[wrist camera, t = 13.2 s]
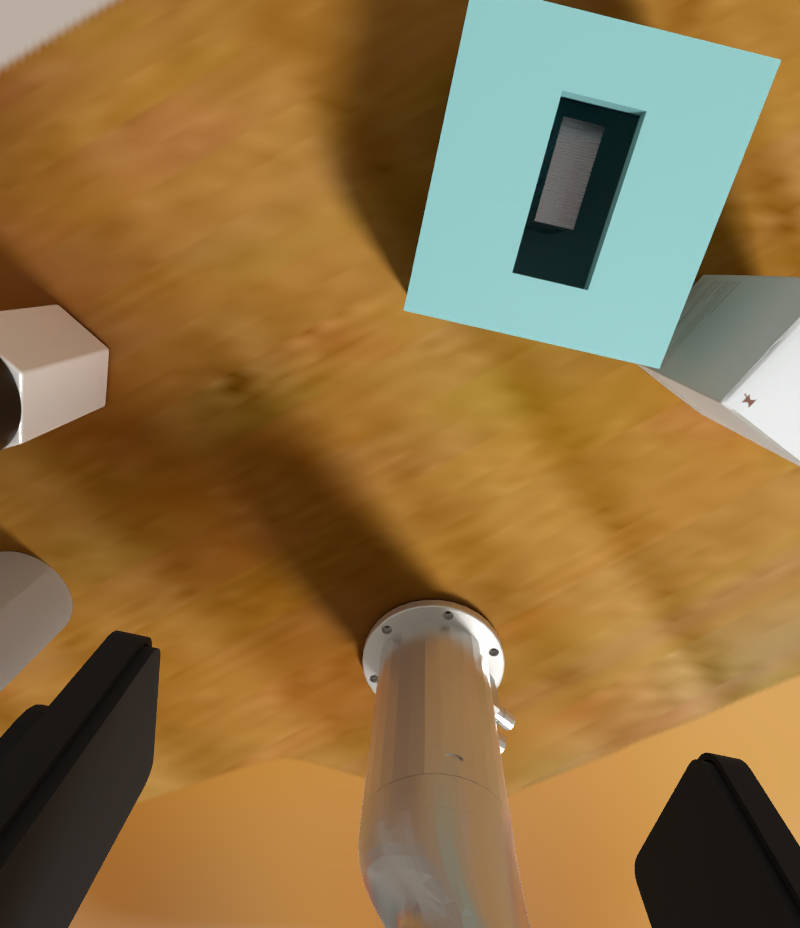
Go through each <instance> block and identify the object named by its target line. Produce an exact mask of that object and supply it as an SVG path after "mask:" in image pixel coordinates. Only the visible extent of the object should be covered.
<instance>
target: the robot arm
mask: <svg viewBox="0 0 800 928" xmlns="http://www.w3.org/2000/svg"><path fill="white" fill-rule="evenodd" d="M362 663H363V672H364V675H365V678H366V681H367V683H368V684H369V686H370V688H371V689H372V691H373V692H374V693H375V694H376V696H375V704H374V713H373V721H372V729H371V738H370V746H369V755H368V763H367V772H366V780H365V789H364V798H363V805H362V814H361V822H360V832H359V845H358V849H359V863H360V869H361V873H362V877H363V881H364V884H365V887H366V890H367V892H368V894H369V897H370V899H371V902H372V904H373V906H374V908H375V910H376V911H377V914H378V915H379V917H380V919H381V921H382V923H383V925H384V926H385V928H530V926H529V922H528V917H527V912H526V907H525V903H524V898H523V893H522V888H521V882H520V876H519V871H518V865H517V859H516V852H515V845H514V839H513V832H512V826H511V818H510V812H509V805H508V798H507V792H506V785H505V778H504V771H503V765H502V758H501V753H502V752H503V750H504V749H505V746H506V738H505V736H504V735H503V734H501V733H500V732H499V731H498V730H497V725H496V723H497V724H498V725H500V726H501V727H502V728H504V729H505V730H510V729H512V727H513V726H514V724H515V717H514V716H513V715H512V714H511V713H509V712H508V711H507V710H505V709H504V708H502V707H500V706H499V702H498V696H497V688H498V687H499V685H500V683H501V680H502V677H503V675H504V667H505V660H504V652H503V648H502V644H501V640H500V638H499V637H498V635H497V633H496V631H495V629H494V628H493V627H492V626H491V624H490V623H489V622H488V621H487V620H486V619H485V618H483V617H482V616H481V615H480V614H478V613H477V612H475V611H473V610H471V609H470V608H468V607H466V606H463V605H460V604H457V603H454V602H449V601H443V600H422V601H415V602H411V603H408V604H405V605H402V606H399V607H397V608H395V609H393V610H391V611H390V612H388V613H387V614H385V615H384V616H383V617H382V618H381V619H379V620H378V621H377V623H376V624H375V625H374V626H373V628H372V629H371V630H370V632H369V634H368V636H367V638H366V642H365V646H364V650H363V659H362ZM159 667H160V650H159V649H158V648H153V647H152V641H151V638H149V637H145V636H141V635H136V634H131V633H126V632H121V631H114V632H112V633H111V634H110V635H109V636H108V637H107V638H106V639H105V641H104V642H103V643H102V644H101V645H100V647H99V648H98V649H97V650H96V651H95V652H94V654H93V655H92V656H91V657H90V658H89V659H88V661H87V662H86V663H85V664H84V665H83V666H82V668H81V669H80V670H79V671H78V672H77V674H76V675H75V676H74V677H73V678H72V679H71V681H70V682H69V683H68V684H67V685H66V686H65V688H64V689H63V690H62V691H61V692H60V694H59V695H58V696H57V697H56V698H55V699H54V701H53V702H52V703H51V704H50V705H49V706H46V705H34V706H32V707H30V708H29V709H27V710H26V711H25V712H24V713H23V714H22V715H21V716H20V717H19V718H18V719H17V720H16V721H15V722H14V723H13V724H12V725H11V726H10V728H9V729H8V730H7V731H6V732H5V733H4V734H3V735H2V736H1V738H0V928H68V926H69V925H70V923H71V921H72V920H73V918H74V916H75V914H76V912H77V910H78V908H79V907H80V904H81V903H82V901H83V899H84V897H85V895H86V894H87V892H88V890H89V888H90V886H91V884H92V882H93V881H94V879H95V877H96V875H97V873H98V871H99V869H100V868H101V866H102V864H103V862H104V860H105V858H106V857H107V855H108V853H109V851H110V849H111V847H112V845H113V844H114V842H115V840H116V838H117V836H118V834H119V832H120V831H121V829H122V827H123V825H124V823H125V821H126V819H127V818H128V816H129V814H130V812H131V810H132V808H133V806H134V805H135V803H136V801H137V799H138V797H139V795H140V793H141V792H142V790H143V788H144V786H145V784H146V782H147V780H148V777H149V774H150V771H151V768H152V764H153V756H154V741H155V727H156V712H157V697H158V682H159ZM635 877H636V882H637V885H638V888H639V891H640V894H641V897H642V900H643V902H644V906H645V909H646V912H647V914H648V918H649V921H650V923H651V927H652V928H800V846H799V845H798V843H797V842H796V840H795V839H794V837H793V835H792V834H791V832H790V830H789V829H788V828H787V826H786V824H785V823H784V821H783V819H782V818H781V816H780V815H779V813H778V812H777V810H776V808H775V807H774V805H773V804H772V802H771V801H770V799H769V797H768V796H767V794H766V793H765V791H764V790H763V788H762V787H761V785H760V783H759V782H758V780H757V779H756V777H755V776H754V774H753V772H752V771H751V769H750V768H749V767H748V765H747V764H746V763H745V762H743V761H742V760H740V759H736V758H731V757H726V756H721V755H716V754H711V753H704V754H702V755H701V756H700V757H699V758H698V759H697V760H696V759H695V760H693V761H691V763H690V764H689V766H688V767H687V769H686V771H685V773H684V774H683V776H682V778H681V780H680V781H679V783H678V785H677V787H676V788H675V790H674V792H673V794H672V795H671V797H670V799H669V801H668V802H667V804H666V806H665V808H664V809H663V811H662V813H661V815H660V816H659V818H658V820H657V822H656V823H655V825H654V827H653V829H652V831H651V832H650V834H649V836H648V838H647V839H646V841H645V843H644V845H643V846H642V848H641V850H640V852H639V854H638V855H637V858H636V861H635Z"/></svg>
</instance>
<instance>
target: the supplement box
mask: <svg viewBox="0 0 800 928" xmlns="http://www.w3.org/2000/svg"><path fill="white" fill-rule="evenodd" d="M637 365H638V366H639V367H641V368H642V369H643V370H645V371H646V372H647V373H648V374H650V375H651V376H652V377H653V378H655V379H656V380H657V381H658V382H660V383H661V384H662V385H663V386H665V387H666V388H667V389H668V390H670V391H671V392H672V393H674V394H675V395H676V396H678V397H679V398H680V399H682V400H683V401H684V402H686V403H687V404H688V405H690V406H691V407H692V408H694V409H695V410H696V411H698V412H699V413H700V414H702V415H704V416H706V417H708V418H710V419H712V420H714V421H715V422H717V423H719V424H721V425H723V426H725V427H727V428H729V429H730V430H732V431H734V432H736V433H738V434H740V435H742V436H744V437H746V438H748V439H749V440H751V441H753V442H755V443H757V444H759V445H760V446H762V447H764V448H766V449H768V450H770V451H772V452H774V453H776V454H777V455H779V456H781V457H783V458H785V459H787V460H789V461H791V462H793V463H795V464H797V465H798V466H800V277H779V276H749V275H702V276H701V278H700V279H699V280H698V281H697V282H696V284H695V285H694V286H693V287H692V288H691V290H690V293H689V295H688V298H687V300H686V303H685V305H684V308H683V310H682V313H681V315H680V318H679V321H678V323H677V326H676V328H675V331H674V333H673V336H672V338H671V341H670V343H669V346H668V348H667V351H666V353H665V356H664V359H663V361H662V364H661V366H660V369H658V368H653V367H649V366H645V365H640V364H637Z"/></svg>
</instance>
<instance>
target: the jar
mask: <svg viewBox="0 0 800 928" xmlns="http://www.w3.org/2000/svg"><path fill="white" fill-rule="evenodd" d="M108 360H109V349H108V348H107V347H106V346H105V345H104V344H103V343H102V342H100V341H99V340H98V339H97V338H96V337H95V336H94V335H92V334H91V333H90V332H89V331H88V330H87V329H86V328H84V327H83V326H82V325H81V324H80V323H79V322H78V321H76V320H75V319H74V318H73V317H72V316H71V315H69V314H68V313H67V312H66V311H65V310H64V309H63V308H61V307H60V306H59V305H47V306H39V307H30V308H22V309H13V310H5V311H0V450H2V449H5V448H8V447H12V446H16V445H20V444H23V443H25V442H27V441H29V440H31V439H34V438H36V437H38V436H40V435H42V434H45V433H47V432H49V431H51V430H53V429H56V428H58V427H60V426H62V425H65V424H67V423H69V422H71V421H73V420H76V419H78V418H80V417H82V416H84V415H87V414H89V413H91V412H93V411H96V410H98V409H100V408H102V407H104V406H105V404H106V390H107V375H108Z"/></svg>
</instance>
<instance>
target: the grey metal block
mask: <svg viewBox="0 0 800 928" xmlns="http://www.w3.org/2000/svg"><path fill="white" fill-rule="evenodd" d="M604 128H605V126H602V125H598V124H594V123H590V122H586V121H582V120H577V119H573V118H569V117H565V116H563V117H562V119H561V120H560V121H559V122H558V123H557V124H556V125H555V126H554V127H553V128H552V130H551V134H550V137H549V141H548V145H547V148H546V152H545V155H544V159H543V163H542V166H541V170H540V174H539V177H538V181H537V184H536V188H535V192H534V195H533V199H532V203H531V206H530V210H529V213H528V217H527V221H526V224H525V228H524V229H527V230H531V231H536V232H540V233H544V234H548V235H551V234H556V233H561V232H566V231H570V230H573V229H574V226H575V223H576V219H577V216H578V213H579V210H580V206H581V203H582V200H583V197H584V193H585V190H586V187H587V183H588V180H589V177H590V174H591V170H592V167H593V164H594V161H595V157H596V154H597V151H598V148H599V144H600V141H601V138H602V135H603V131H604Z"/></svg>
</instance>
